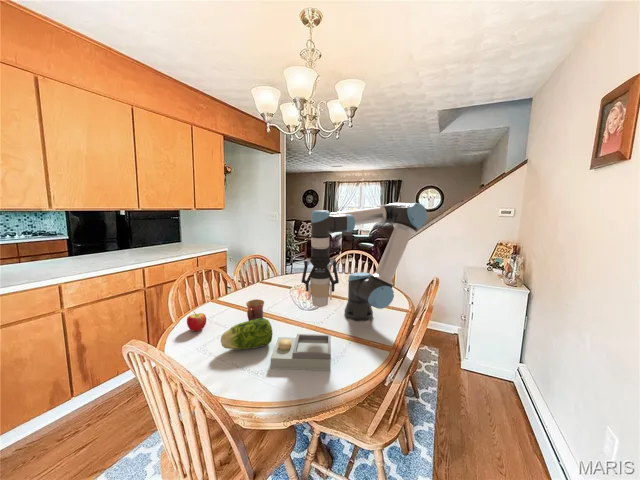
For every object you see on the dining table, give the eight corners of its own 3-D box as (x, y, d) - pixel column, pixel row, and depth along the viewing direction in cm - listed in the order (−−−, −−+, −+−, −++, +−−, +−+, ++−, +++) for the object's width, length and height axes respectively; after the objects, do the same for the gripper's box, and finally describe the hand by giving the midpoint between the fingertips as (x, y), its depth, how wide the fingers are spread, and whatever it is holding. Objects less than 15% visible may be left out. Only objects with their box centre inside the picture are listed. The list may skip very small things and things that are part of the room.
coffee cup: (332, 301, 118) (333, 268, 116) (326, 309, 110) (327, 274, 107) (313, 298, 121) (313, 266, 119) (306, 306, 113) (306, 272, 110)
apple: (183, 332, 122) (181, 312, 121) (197, 324, 130) (196, 305, 129) (197, 335, 120) (195, 314, 118) (210, 327, 128) (209, 307, 126)
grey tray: (330, 347, 111) (330, 334, 110) (330, 370, 96) (330, 355, 95) (278, 345, 112) (278, 332, 111) (270, 368, 97) (270, 353, 96)
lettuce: (219, 346, 111) (218, 321, 109) (267, 335, 120) (267, 312, 119) (223, 361, 101) (221, 334, 99) (275, 348, 110) (275, 323, 108)
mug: (251, 317, 139) (251, 298, 137) (267, 319, 137) (267, 300, 135) (240, 328, 127) (239, 307, 125) (257, 330, 125) (256, 309, 124)
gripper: (345, 245, 115) (344, 295, 118) (296, 245, 116) (296, 294, 119) (346, 249, 107) (345, 302, 111) (293, 248, 108) (294, 301, 112)
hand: (320, 298), depth 115 cm, fingers closed on coffee cup, 8 cm apart
